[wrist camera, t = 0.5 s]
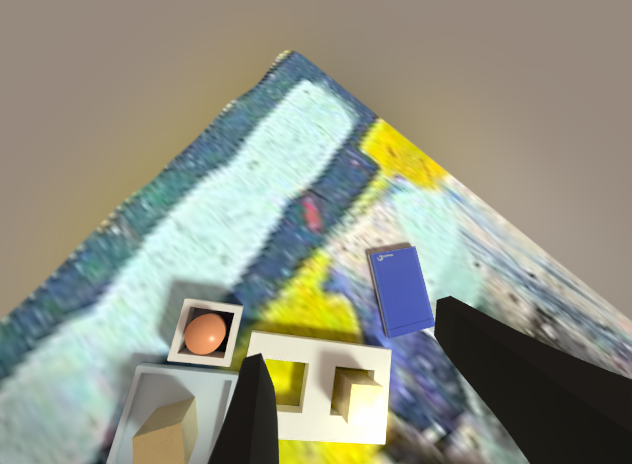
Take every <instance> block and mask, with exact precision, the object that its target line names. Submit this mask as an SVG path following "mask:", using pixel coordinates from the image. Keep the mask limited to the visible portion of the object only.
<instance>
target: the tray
mask: <svg viewBox="0 0 632 464" xmlns="http://www.w3.org/2000/svg"><path fill="white" fill-rule="evenodd" d="M238 375H239V372H238V371H228V370H218V369H207V368H197V367H187V366H177V365H166V364H156V363H146V362H142V363H140V364H139V365H137V367H136V370H135V373H134V377H133V380H132V383H131V386H130V389H129V393H128V396H127V399H126V402H125V405H124V409H123V412H122V415H121V418H120V421H119V425H118V428H117V431H116V434H115V437H114V441H113V444H112V447H111V450H110V453H109V457H108V460H107V463H106V464H133V447H132V437H133V436H134V435H135V434H136V432H137V431H138V430H139V429H140V428H141V426H142V425H143V424H144V423H145V421H146V420H147V419H148V418H149V417H150V415H151V414H152V413H153V412H154V411H155V409H156V408H159V407H162V406H166V405H169V404H173V403H176V402H180V401H183V400H187V399H190V398H194V397H195V400H196V411H197V422H198V433H199V436H198V438H197V441H196V444H195V447H194V449H193V452H192V455H191V457H190V460H189V463H188V464H207V463H208V461H209V458H210V456H211V453H212V451H213V448H214V446H215V443H216V441H217V438H218V436H219V433H220V430H221V428H222V425H223V422H224V419H225V416H226V413H227V410H228V408H229V405H230V402H231V399H232V396H233V393H234V389H235V386H236V383H237V380H238Z"/></svg>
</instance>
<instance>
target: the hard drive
mask: <svg viewBox="0 0 632 464" xmlns="http://www.w3.org/2000/svg"><path fill="white" fill-rule="evenodd" d="M368 258H369V262H370V267H371V271H372V276H373V280H374V285H375V289H376V294H377V298H378V302H379V307H380V311H381V316H382V320H383V325H384V329H385V334H386V337H387V338H393V337H397V336H401V335H404V334H408V333H411V332H415V331H418V330H422V329H426V328H429V327H433V326H435V322H434V318H433V314H432V310H431V306H430V302H429V299H428V295H427V291H426V287H425V283H424V279H423V275H422V271H421V267H420V263H419V259H418V255H417V251H416V248H415V246H414V247H408V248H402V249H396V250H390V251H385V252H379V253H373V254H368Z"/></svg>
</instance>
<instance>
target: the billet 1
mask: <svg viewBox="0 0 632 464" xmlns="http://www.w3.org/2000/svg"><path fill="white" fill-rule="evenodd" d="M198 436H199V433H198V422H197V411H196V400H195V397H194V398H190V399H187V400H183V401H180V402H176V403H173V404H169V405H166V406H162V407H159V408H156V409H155V411H154V412H153V413H152V414H151V415H150V417H149V418H148V419H147V420H146V421H145V423H144V424H143V425H142V426H141V428H140V429H139V430H138V431H137V432H136V434H135V435H134V436H133V437H132V447H133V464H188V463H189V460H190V457H191V455H192V452H193V449H194V447H195V444H196V441H197V438H198Z"/></svg>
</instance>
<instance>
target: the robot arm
mask: <svg viewBox="0 0 632 464" xmlns="http://www.w3.org/2000/svg"><path fill="white" fill-rule="evenodd" d="M434 336H435V338H436V339H437V341H438V342H439V344H440V345H441V347H442V349H443V350H444V352H445V353H446V355H447V356H448V358H449V359H450V360H451V362H452V363H453V364H454V365H455V367H456V368H457V369H458V370H459V372H460V373H461V374H462V375H463V377H464V378H465V379H466V380H467V381H468V383H469V384H470V385H471V386H472V388H473V389H474V390H475V391H476V392H477V394H478V395H479V396H480V397H481V399H482V400H483V401H484V402H485V403H486V405H487V406H488V407H489V408H490V409H491V411H492V412H493V413H494V414H495V416H496V417H497V418H498V419H499V421H500V422H501V423H502V425H503V426H504V427H505V429H506V430H507V431H508V433H509V434H510V436H511V437H512V438H513V440H514V441H515V443H516V444H517V446H518V447H519V448H520V450H521V451H522V453H523V454H524V456H525V457H526V458H527V460H528V461H529V463H530V464H632V379H629V378H626V377H624V376H621V375H618V374H616V373H613V372H610V371H608V370H605V369H603V368H600V367H598V366H595V365H593V364H590V363H588V362H586V361H583V360H581V359H578V358H576V357H573V356H571V355H569V354H566V353H564V352H562V351H560V350H557V349H555V348H553V347H551V346H549V345H546V344H544V343H542V342H540V341H538V340H536V339H533V338H531V337H529V336H527V335H525V334H523V333H521V332H519V331H517V330H515V329H513V328H511V327H509V326H507V325H505V324H503V323H501V322H499V321H497V320H496V319H494V318H492V317H490V316H488V315H486V314H484V313H482V312H480V311H478V310H477V309H475V308H473V307H471V306H469V305H467V304H465V303H463V302H461V301H459V300H458V299H456V298H454V297H452V296H448V297H445V298H442V299H438V300H437V305H436V317H435V330H434ZM207 464H279V444H278V416H277V407H276V399H275V391H274V385H273V383H272V380H271V377H270V375H269V372H268V369H267V367H266V364H265V361H264V359H263V356H262V353H259V354H255V355H252V356H249V357H246V358H244V359H243V361H242V365H241V369H240V373H239V376H238V380H237V383H236V386H235V389H234V393H233V396H232V399H231V402H230V405H229V408H228V410H227V413H226V416H225V419H224V422H223V425H222V428H221V430H220V433H219V436H218V438H217V441H216V443H215V446H214V448H213V451H212V453H211V456H210V458H209V461H208V463H207Z"/></svg>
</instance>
